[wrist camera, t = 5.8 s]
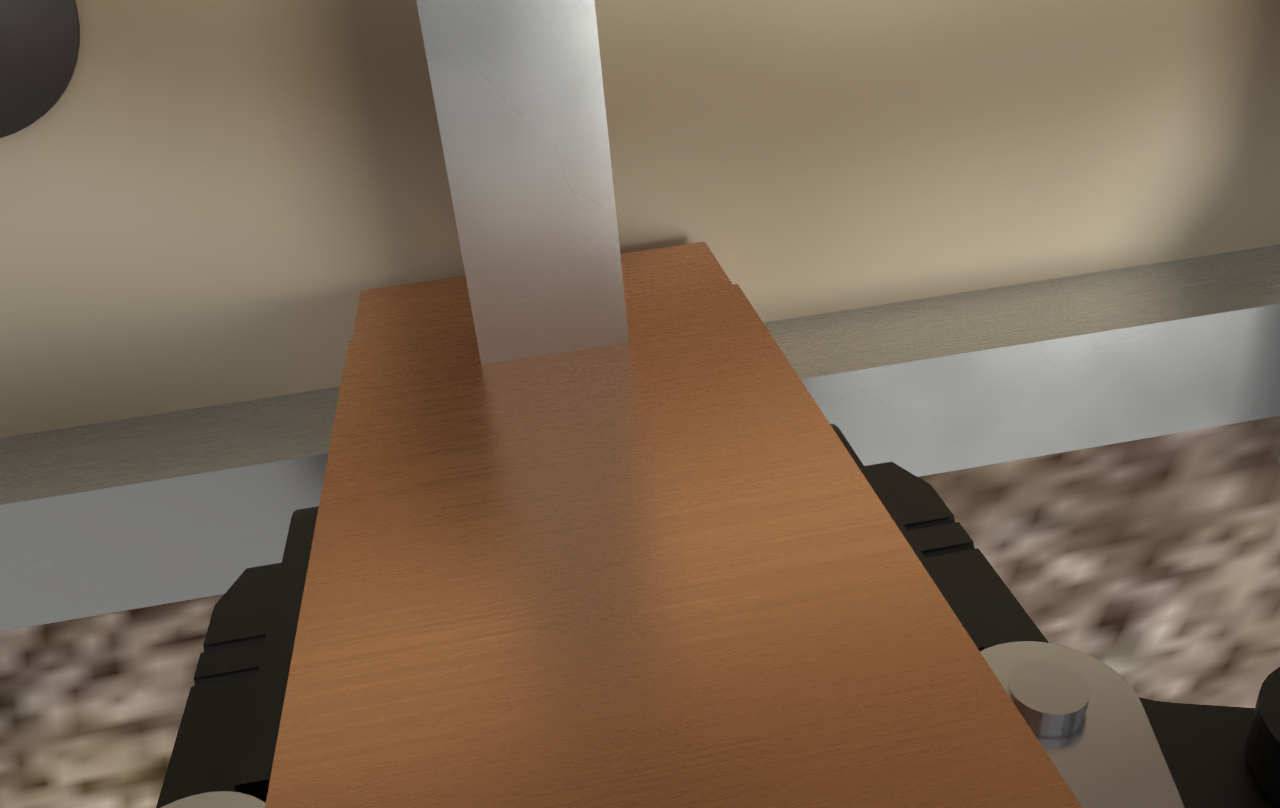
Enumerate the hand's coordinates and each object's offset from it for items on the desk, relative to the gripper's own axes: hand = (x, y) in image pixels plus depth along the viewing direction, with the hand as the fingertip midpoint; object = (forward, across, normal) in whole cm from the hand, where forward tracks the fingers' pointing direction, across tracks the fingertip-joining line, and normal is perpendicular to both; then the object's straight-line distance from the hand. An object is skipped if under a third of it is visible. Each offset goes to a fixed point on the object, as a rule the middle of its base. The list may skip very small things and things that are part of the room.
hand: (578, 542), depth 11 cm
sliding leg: (+3, 0, -2) cm, 3 cm away
